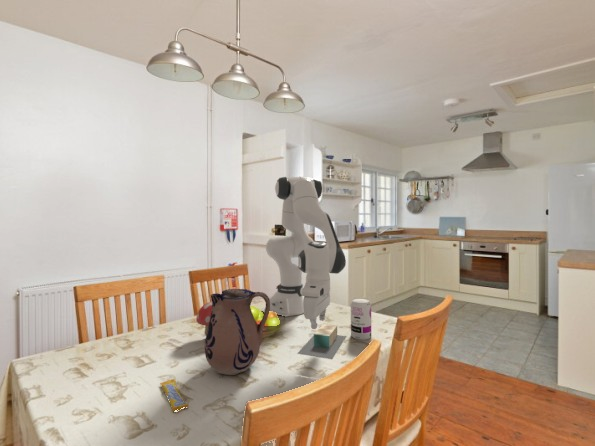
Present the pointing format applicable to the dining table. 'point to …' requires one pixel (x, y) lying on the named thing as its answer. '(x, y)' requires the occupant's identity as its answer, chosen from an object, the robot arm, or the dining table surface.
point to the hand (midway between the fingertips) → (318, 324)
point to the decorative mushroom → (204, 315)
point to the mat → (322, 348)
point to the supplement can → (361, 319)
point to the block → (325, 336)
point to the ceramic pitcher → (234, 331)
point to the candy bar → (173, 394)
